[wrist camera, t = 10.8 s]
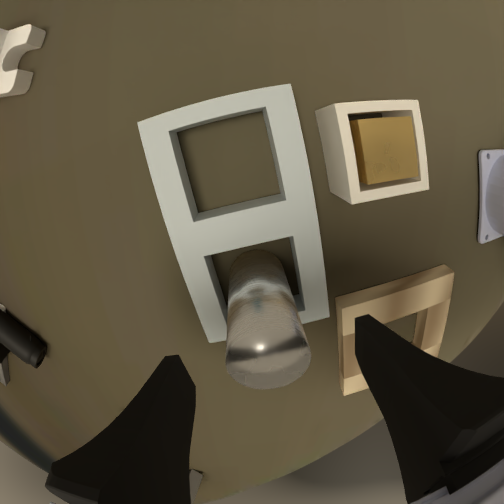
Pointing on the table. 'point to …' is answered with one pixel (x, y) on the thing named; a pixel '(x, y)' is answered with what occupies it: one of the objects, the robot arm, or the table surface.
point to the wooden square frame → (394, 316)
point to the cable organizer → (17, 58)
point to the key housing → (343, 156)
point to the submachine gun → (17, 345)
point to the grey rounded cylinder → (263, 324)
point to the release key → (384, 149)
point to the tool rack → (241, 214)
